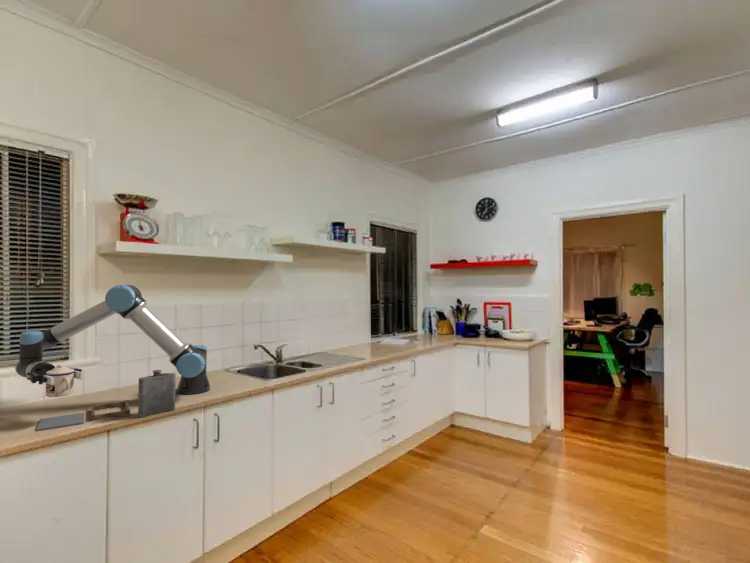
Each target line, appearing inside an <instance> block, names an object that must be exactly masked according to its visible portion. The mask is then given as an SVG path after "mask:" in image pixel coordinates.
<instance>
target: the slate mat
mask: <svg viewBox="0 0 750 563" xmlns="http://www.w3.org/2000/svg"><path fill="white" fill-rule="evenodd" d="M84 420H85V412H79V413H72V414H64V415H57V416H51V417H43V418H40V419H39V422H38V425H37V427H36V432H41V431H46V430H52V429H59V427H60V428H65V427H72V426H77V425H78V426H79V425H84Z"/></svg>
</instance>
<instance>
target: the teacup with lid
mask: <svg viewBox="0 0 750 563" xmlns="http://www.w3.org/2000/svg"><path fill="white" fill-rule="evenodd" d="M70 368H71V367H68V368H67V366H64V364H63V363H61V364H57V366H55V368H54V369H52V370H50V371H47V372H46V374H45V375H48V376H51V377H54V384H53V385H50V384H47V383H45V396H46V397H49V398H59V397H65V396H70V395H71V394H73V393H74V392H75V390H74V389H75V388H74V387H75V386H74V381H75V378H74V372H75V371H74V369H70Z"/></svg>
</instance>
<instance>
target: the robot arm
mask: <svg viewBox="0 0 750 563" xmlns="http://www.w3.org/2000/svg"><path fill="white" fill-rule="evenodd" d="M104 296H105V298H104V300H103V301H101V302H99V303H97V304H95V305H93V306H92V307H90V308H87V309H86V310H84V311H81V312H80V313H78V314H76V315H74V316H72V317H70V318H68V319H65V320H64V321H62V322H60V323H59V324H57V325H55V326H52V327H51V328H49V329H47V330H44V331H41V330H30V331H28V330H27V331H23V332H21V333H20V334H19V340H18V342H19V359H18V362H17V363H16V365H15V366H14V367H15V368H14V370H15V372H16V373H17V375H19V376H20V377H22V378H26V380H28V381H30V382H31V384H36V383H37V382H38V385H43V384H46V383H47V384H50V385H53V384H54V377H51V376H48V375H45V374H46V372H47V371H50V370H52V369H54V368H56V366H54V364H52V363H49V362H46V361H43V357H44V356H43V355H44V354H43V352H44V351H45V350H47V349H51V348H54V347H55V346H56V345H58V344H60V343H61V342H63V341H65V340H67V339H69V338H71V337H74V336H75V335H77V334H79V333H81V332H82V331H84V330H86V329H88V328H90V327H92V326H94V325H96V324H98V323H100V322H102V321H104V320H105V319H108V318H110V317H111V316H113V315H115V314H116V315H120V316H121V317H122V319H124V320H130V321H132V322H133V323H134V324H135V325H136V327H138V329H140V330H141V331H142V332H143V333H144V334H145V335H146V336H148V338H149V339H151V340H152V341H153V342H154V343H155V344H156V346H158V347H159V348H160V349H161V350H163V352H165V353H166V355H168V356H169V362H170V363H171V364H172V365H173V366H174V367H175V368H176V370H177V373H178V374H179V375H180V379H179V382H178V385H177V388H176V389H177V392H176V393H177V394H181V395H196V394H197V395H198V394H202V393H206V392H208V391H210V390H211V385H210V380H209V378H208V375H207V364H208V362H207V361H208V360H207V356H208V354H207V353H208V349H207V346H206V345H205V344H198V345H197V344H196V345H194V344H193V345H192V344H191V343H187V342H186V343H185V342H184V340H183V339H181V338H180V337H179V336H178V335H177V334H176V333H175V332H174V331H173V330H172V329H171V328H169V326H168V325H167V324H166V323H164V322H163V320H161V319H160V318H159V317H158V316H157V315H156V314H155V313H154V312H153V311H152V310H151V309H150V308H149V307H148V306H147V305H148V304H147V303H148V302H147V300H145V298H143V296H142V293H141V291H140V289H139V288H137V286H134V285H132V284H117V285H115V286H113V287H111V288H109V289H108V290H107V292H106V294H105V295H104ZM66 367H67V366H66ZM67 368H70V369H74V371H75V372H74V379H77V380H81V381H82V380H84V372H82V371H83V369H81V368H78V367H76V368H75V367H73V368H72V367H67Z"/></svg>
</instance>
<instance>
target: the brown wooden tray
mask: <svg viewBox="0 0 750 563" xmlns="http://www.w3.org/2000/svg"><path fill="white" fill-rule="evenodd" d="M115 407H116V408H123V407H124V409H125V410H119V411H111V412H106V413H99V414H96V413H95V412H96V411H101V410H100V409H102V410H108V409H107V408H109V409H115ZM127 415H128V416H131V410H130V405H129V402H128V400H124V401H117V402H116V401H115V402H110V403H102V404H94V405H91V422H94V420H95V421H99V420H100V419H102V420H108V419H114V418H113V417H115V418H121V417H125V416H126V417H128V416H127ZM120 416H121V417H120ZM107 418H108V419H107Z"/></svg>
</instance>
